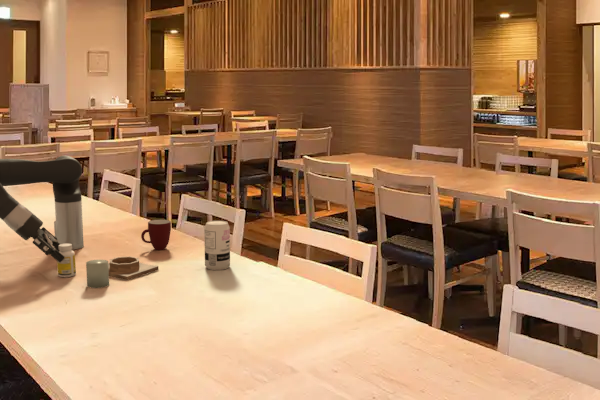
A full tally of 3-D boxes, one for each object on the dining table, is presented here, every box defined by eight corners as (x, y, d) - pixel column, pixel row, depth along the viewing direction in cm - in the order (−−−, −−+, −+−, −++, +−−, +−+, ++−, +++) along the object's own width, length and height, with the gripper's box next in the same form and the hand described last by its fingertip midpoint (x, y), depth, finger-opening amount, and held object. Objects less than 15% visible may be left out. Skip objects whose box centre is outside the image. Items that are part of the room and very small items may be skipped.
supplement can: (205, 264, 236) (204, 220, 233) (230, 263, 236) (229, 220, 234) (204, 270, 228) (203, 225, 225) (229, 270, 228) (229, 225, 226)
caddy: (90, 272, 225) (90, 261, 224) (122, 262, 236) (122, 252, 236) (127, 280, 216) (126, 269, 216) (158, 269, 228) (158, 259, 228)
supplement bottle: (68, 271, 225) (67, 241, 223) (79, 274, 222) (78, 244, 220) (54, 275, 221) (52, 245, 219) (65, 278, 218) (63, 247, 216)
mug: (145, 253, 249) (145, 225, 247) (139, 248, 256) (138, 221, 254) (174, 250, 254) (173, 222, 252) (167, 245, 261) (166, 218, 259)
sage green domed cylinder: (82, 285, 211) (81, 263, 209) (98, 280, 216) (97, 258, 215) (97, 289, 207) (96, 266, 206) (113, 283, 213) (112, 261, 212)
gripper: (17, 225, 222) (57, 259, 226) (10, 235, 208) (52, 271, 213) (34, 208, 222) (74, 242, 227) (28, 217, 208) (70, 253, 213)
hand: (63, 256), depth 220 cm, fingers open, 8 cm apart
